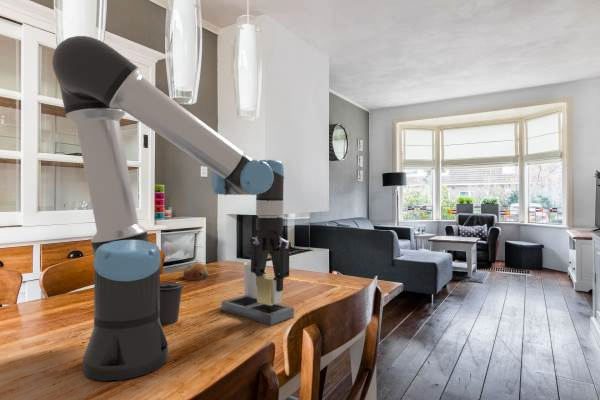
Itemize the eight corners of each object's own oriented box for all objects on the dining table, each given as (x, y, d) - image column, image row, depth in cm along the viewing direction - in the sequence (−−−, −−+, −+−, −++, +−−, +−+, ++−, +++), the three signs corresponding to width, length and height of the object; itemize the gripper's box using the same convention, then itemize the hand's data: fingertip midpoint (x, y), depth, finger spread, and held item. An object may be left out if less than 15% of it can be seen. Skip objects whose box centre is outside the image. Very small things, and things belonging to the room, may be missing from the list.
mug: (258, 305, 110) (258, 266, 110) (239, 302, 113) (239, 264, 113) (273, 297, 119) (273, 260, 119) (255, 294, 122) (255, 259, 122)
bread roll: (204, 283, 153) (200, 265, 155) (215, 276, 146) (211, 258, 148) (181, 287, 146) (178, 268, 149) (192, 280, 139) (188, 260, 142)
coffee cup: (165, 328, 89) (165, 288, 89) (143, 323, 93) (144, 284, 93) (189, 319, 96) (190, 282, 96) (168, 314, 100) (169, 278, 100)
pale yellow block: (270, 305, 96) (270, 279, 96) (257, 302, 99) (257, 276, 99) (282, 301, 100) (282, 276, 100) (269, 298, 103) (269, 273, 103)
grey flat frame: (271, 325, 92) (271, 315, 92) (221, 309, 105) (221, 301, 105) (293, 317, 99) (293, 307, 99) (244, 303, 112) (244, 295, 112)
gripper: (303, 217, 96) (303, 304, 96) (256, 215, 108) (256, 292, 108) (285, 218, 91) (284, 310, 91) (237, 215, 102) (237, 297, 102)
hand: (269, 300), depth 99 cm, fingers closed on pale yellow block, 5 cm apart
